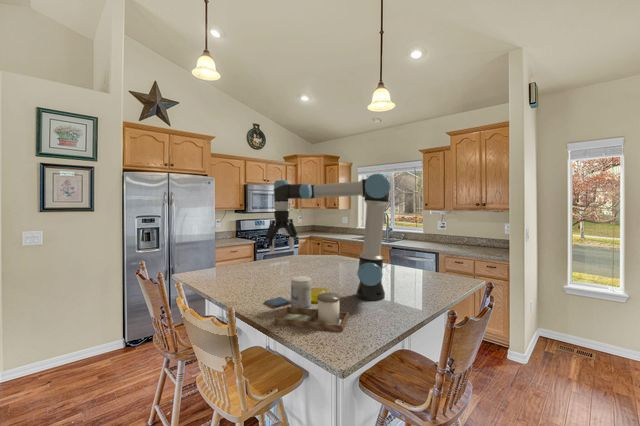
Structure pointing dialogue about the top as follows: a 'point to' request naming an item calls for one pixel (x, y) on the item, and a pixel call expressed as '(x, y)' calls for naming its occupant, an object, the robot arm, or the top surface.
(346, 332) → the top surface
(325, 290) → the element tile
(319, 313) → the canister
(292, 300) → the supplement tub
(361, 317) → the top surface
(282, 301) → the woven mat
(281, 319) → the crate
